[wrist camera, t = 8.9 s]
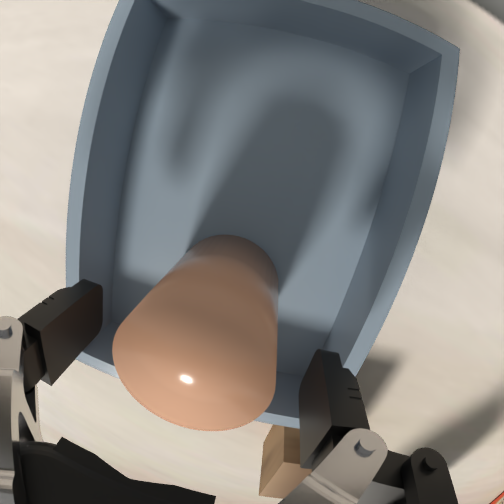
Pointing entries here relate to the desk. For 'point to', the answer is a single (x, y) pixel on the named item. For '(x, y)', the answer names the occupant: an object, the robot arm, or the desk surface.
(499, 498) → the cracker box
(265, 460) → the walnut cube
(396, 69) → the tote
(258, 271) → the tan capsule
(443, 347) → the desk surface
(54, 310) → the robot arm
